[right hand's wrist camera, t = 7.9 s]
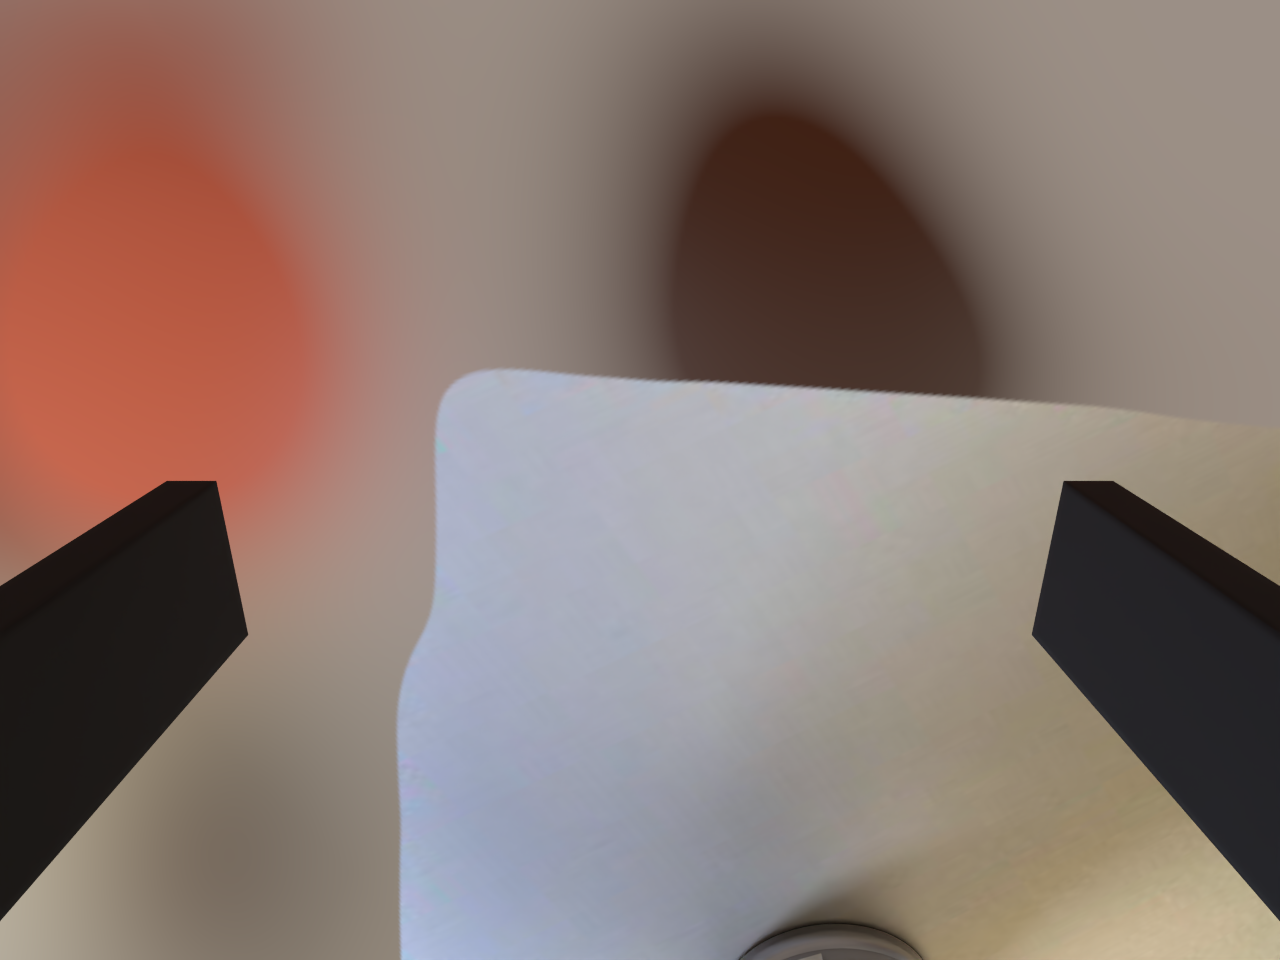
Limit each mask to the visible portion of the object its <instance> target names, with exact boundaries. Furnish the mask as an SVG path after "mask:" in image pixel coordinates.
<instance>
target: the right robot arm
mask: <svg viewBox="0 0 1280 960" xmlns="http://www.w3.org/2000/svg"><path fill="white" fill-rule="evenodd" d="M247 636H248V632H247V627H246V622H245V617H244V612H243V608H242V603H241V598H240V593H239V588H238V583H237V579H236V574H235V569H234V564H233V559H232V554H231V550H230V545H229V540H228V535H227V531H226V525H225V521H224V516H223V511H222V506H221V501H220V497H219V492H218V487H217V482H216V481H166V482H165V483H163V484H161V485H160V486H158V487H157V488H155V489H154V490H152V491H150V492H149V493H147V494H146V495H144V496H142V497H141V498H139V499H138V500H136V501H134V502H133V503H131V504H130V505H128V506H126V507H125V508H123V509H122V510H120V511H119V512H117V513H115V514H114V515H112V516H111V517H109V518H107V519H106V520H104V521H103V522H101V523H100V524H98V525H96V526H95V527H93V528H92V529H90V530H88V531H87V532H85V533H84V534H82V535H81V536H79V537H77V538H76V539H74V540H73V541H71V542H69V543H68V544H66V545H65V546H63V547H61V548H60V549H58V550H57V551H55V552H54V553H52V554H50V555H49V556H47V557H46V558H44V559H42V560H41V561H39V562H38V563H36V564H35V565H33V566H31V567H30V568H28V569H27V570H25V571H24V572H22V573H20V574H19V575H17V576H16V577H14V578H12V579H11V580H9V581H8V582H6V583H4V584H3V585H1V586H0V921H1V919H2V918H3V917H4V916H5V915H6V914H7V912H8V911H9V910H10V909H11V908H12V907H13V906H14V904H15V903H16V902H17V901H18V900H19V899H20V897H21V896H22V895H23V894H24V893H25V892H26V891H27V889H28V888H29V887H30V886H31V885H32V884H33V882H34V881H35V880H36V879H37V878H38V877H39V876H40V874H41V873H42V872H43V871H44V870H45V869H46V867H47V866H48V865H49V864H50V863H51V862H52V861H53V859H54V858H55V857H56V856H57V855H58V854H59V853H60V851H61V850H62V849H63V848H64V847H65V846H66V844H67V843H68V842H69V841H70V840H71V839H72V838H73V836H74V835H75V834H76V833H77V832H78V831H79V829H80V828H81V827H82V826H83V825H84V824H85V822H86V821H87V820H88V819H89V818H90V817H91V816H92V814H93V813H94V812H95V811H96V810H97V809H98V807H99V806H100V805H101V804H102V803H103V802H104V801H105V799H106V798H107V797H108V796H109V795H110V794H111V792H112V791H113V790H114V789H115V788H116V787H117V786H118V784H119V783H120V782H121V781H122V780H123V779H124V777H125V776H126V775H127V774H128V773H129V772H130V771H131V769H132V768H133V767H134V766H135V765H136V764H137V762H138V761H139V760H140V759H141V758H142V757H143V756H144V754H145V753H146V752H147V751H148V750H149V749H150V747H151V746H152V745H153V744H154V743H155V742H156V741H157V739H158V738H159V737H160V736H161V735H162V734H163V732H164V731H165V730H166V729H167V728H168V727H169V726H170V724H171V723H172V722H173V721H174V720H175V719H176V717H177V716H178V715H179V714H180V713H181V712H182V711H183V709H184V708H185V707H186V706H187V705H188V704H189V702H190V701H191V700H192V699H193V698H194V697H195V696H196V694H197V693H198V692H199V691H200V690H201V689H202V687H203V686H204V685H205V684H206V683H207V682H208V680H209V679H210V678H211V677H212V676H213V675H214V674H215V672H216V671H217V670H218V669H219V668H220V667H221V666H222V664H223V663H224V662H225V661H226V660H227V659H228V657H229V656H230V655H231V654H232V653H233V652H234V651H235V649H236V648H237V647H238V646H239V645H240V644H241V642H242V641H243V640H244V639H245V638H246V637H247ZM1032 636H1033V637H1034V638H1035V639H1036V640H1037V641H1038V642H1039V644H1040V645H1041V646H1042V647H1043V648H1044V649H1045V651H1046V652H1047V653H1048V654H1049V655H1050V656H1051V657H1052V659H1053V660H1054V661H1055V662H1056V663H1057V664H1058V666H1059V667H1060V668H1061V669H1062V670H1063V671H1064V672H1065V674H1066V675H1067V676H1068V677H1069V678H1070V679H1071V681H1072V682H1073V683H1074V684H1075V685H1076V686H1077V687H1078V689H1079V690H1080V691H1081V692H1082V693H1083V694H1084V696H1085V697H1086V698H1087V699H1088V700H1089V701H1090V702H1091V704H1092V705H1093V706H1094V707H1095V708H1096V709H1097V711H1098V712H1099V713H1100V714H1101V715H1102V716H1103V717H1104V719H1105V720H1106V721H1107V722H1108V723H1109V724H1110V726H1111V727H1112V728H1113V729H1114V730H1115V731H1116V732H1117V734H1118V735H1119V736H1120V737H1121V738H1122V739H1123V741H1124V742H1125V743H1126V744H1127V745H1128V746H1129V747H1130V749H1131V750H1132V751H1133V752H1134V753H1135V754H1136V756H1137V757H1138V758H1139V759H1140V760H1141V761H1142V762H1143V764H1144V765H1145V766H1146V767H1147V768H1148V769H1149V771H1150V772H1151V773H1152V774H1153V775H1154V776H1155V777H1156V779H1157V780H1158V781H1159V782H1160V783H1161V784H1162V786H1163V787H1164V788H1165V789H1166V790H1167V791H1168V792H1169V794H1170V795H1171V796H1172V797H1173V798H1174V799H1175V801H1176V802H1177V803H1178V804H1179V805H1180V806H1181V807H1182V809H1183V810H1184V811H1185V812H1186V813H1187V814H1188V816H1189V817H1190V818H1191V819H1192V820H1193V821H1194V822H1195V824H1196V825H1197V826H1198V827H1199V828H1200V829H1201V831H1202V832H1203V833H1204V834H1205V835H1206V836H1207V838H1208V839H1209V840H1210V841H1211V842H1212V843H1213V844H1214V846H1215V847H1216V848H1217V849H1218V850H1219V851H1220V853H1221V854H1222V855H1223V856H1224V857H1225V858H1226V859H1227V861H1228V862H1229V863H1230V864H1231V865H1232V866H1233V868H1234V869H1235V870H1236V871H1237V872H1238V873H1239V874H1240V876H1241V877H1242V878H1243V879H1244V880H1245V881H1246V883H1247V884H1248V885H1249V886H1250V887H1251V888H1252V889H1253V891H1254V892H1255V893H1256V894H1257V895H1258V896H1259V898H1260V899H1261V900H1262V901H1263V902H1264V903H1265V904H1266V906H1267V907H1268V908H1269V909H1270V910H1271V911H1272V913H1273V914H1274V915H1275V916H1276V917H1277V918H1278V919H1279V921H1280V586H1279V585H1277V584H1276V583H1274V582H1272V581H1271V580H1269V579H1268V578H1266V577H1264V576H1263V575H1261V574H1260V573H1258V572H1257V571H1255V570H1253V569H1252V568H1250V567H1249V566H1247V565H1245V564H1244V563H1242V562H1241V561H1239V560H1238V559H1236V558H1234V557H1233V556H1231V555H1230V554H1228V553H1226V552H1225V551H1223V550H1222V549H1220V548H1219V547H1217V546H1215V545H1214V544H1212V543H1211V542H1209V541H1207V540H1206V539H1204V538H1203V537H1201V536H1199V535H1198V534H1196V533H1195V532H1193V531H1192V530H1190V529H1188V528H1187V527H1185V526H1184V525H1182V524H1180V523H1179V522H1177V521H1176V520H1174V519H1173V518H1171V517H1169V516H1168V515H1166V514H1165V513H1163V512H1161V511H1160V510H1158V509H1157V508H1155V507H1154V506H1152V505H1150V504H1149V503H1147V502H1146V501H1144V500H1142V499H1141V498H1139V497H1138V496H1136V495H1134V494H1133V493H1131V492H1130V491H1128V490H1127V489H1125V488H1123V487H1122V486H1120V485H1119V484H1117V483H1115V482H1114V481H1064V482H1063V487H1062V492H1061V497H1060V501H1059V506H1058V511H1057V516H1056V521H1055V525H1054V530H1053V535H1052V540H1051V545H1050V550H1049V554H1048V559H1047V564H1046V569H1045V574H1044V579H1043V583H1042V588H1041V593H1040V598H1039V603H1038V607H1037V612H1036V617H1035V622H1034V627H1033V632H1032ZM740 960H923V959H922V958H921V957H920V956H919V955H918V954H917V953H916V952H915V951H914V950H913V949H912V948H911V947H910V946H908V945H907V944H906V943H904V942H903V941H901V940H899V939H898V938H896V937H894V936H892V935H889V934H887V933H885V932H882V931H879V930H876V929H872V928H869V927H864V926H858V925H850V924H822V925H813V926H807V927H802V928H798V929H794V930H791V931H788V932H785V933H782V934H779V935H777V936H775V937H772V938H770V939H768V940H767V941H765V942H763V943H761V944H760V945H758V946H756V947H755V948H753V949H752V950H751V951H749V952H748V953H747V954H746V955H745V956H744V957H742V958H741V959H740Z"/></svg>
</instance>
